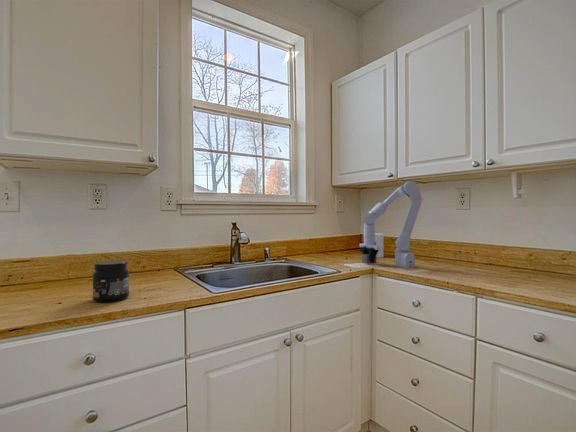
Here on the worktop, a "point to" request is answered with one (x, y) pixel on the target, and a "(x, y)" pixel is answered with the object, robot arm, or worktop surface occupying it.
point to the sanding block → (367, 259)
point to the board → (359, 265)
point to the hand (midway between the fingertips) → (369, 262)
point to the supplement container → (110, 281)
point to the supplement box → (379, 244)
